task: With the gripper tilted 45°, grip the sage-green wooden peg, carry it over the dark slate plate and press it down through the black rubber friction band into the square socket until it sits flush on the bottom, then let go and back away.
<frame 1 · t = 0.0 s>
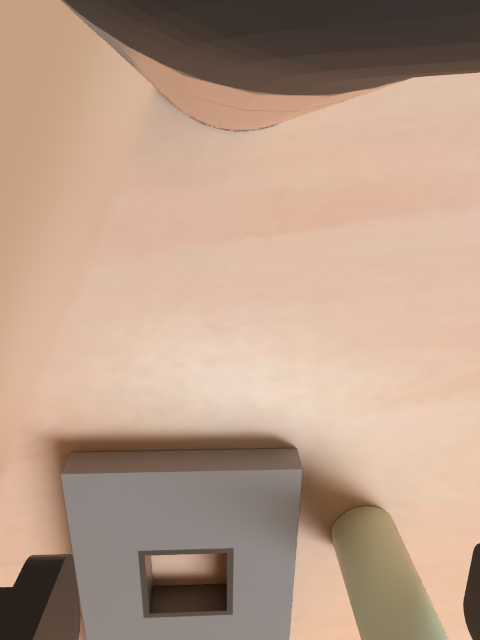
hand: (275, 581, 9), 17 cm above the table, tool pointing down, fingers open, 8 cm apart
socket plate: (188, 558, 32), on the table
peg: (362, 531, 32), on the table
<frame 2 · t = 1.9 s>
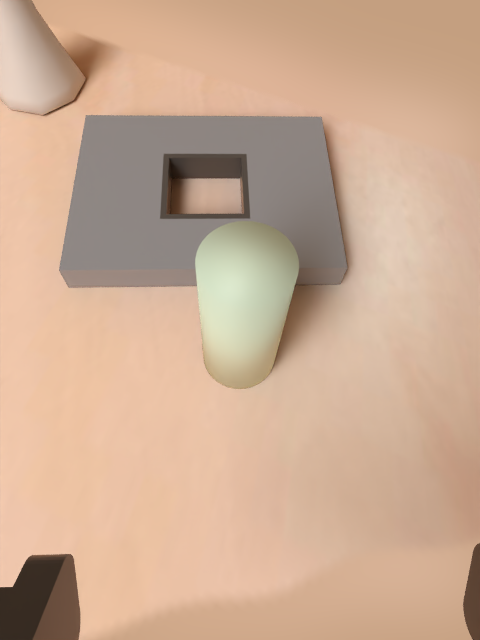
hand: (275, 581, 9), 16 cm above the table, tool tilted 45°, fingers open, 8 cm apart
socket plate: (206, 204, 34), on the table
peg: (239, 354, 28), on the table
flask: (41, 89, 39), on the table
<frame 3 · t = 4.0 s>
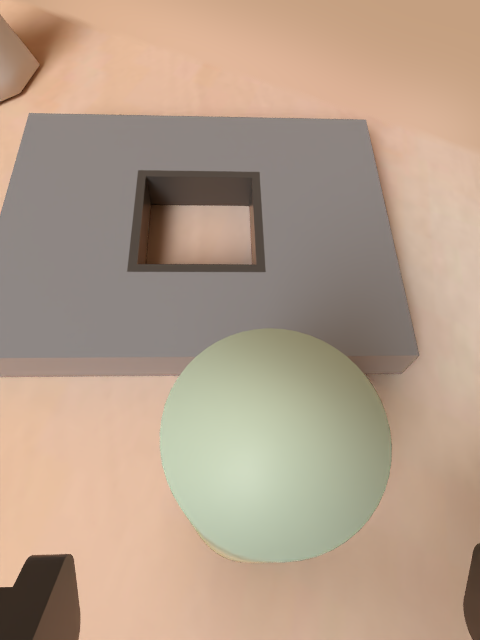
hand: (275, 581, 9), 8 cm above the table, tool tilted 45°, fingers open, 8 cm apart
socket plate: (199, 244, 23), on the table
peg: (246, 497, 18), on the table
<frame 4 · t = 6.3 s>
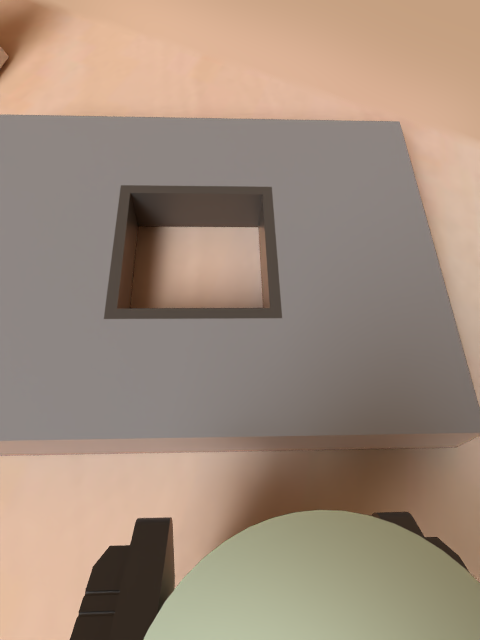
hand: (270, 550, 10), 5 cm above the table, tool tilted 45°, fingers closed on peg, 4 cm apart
socket plate: (197, 276, 19), on the table
peg: (259, 628, 13), on the table, touching gripper
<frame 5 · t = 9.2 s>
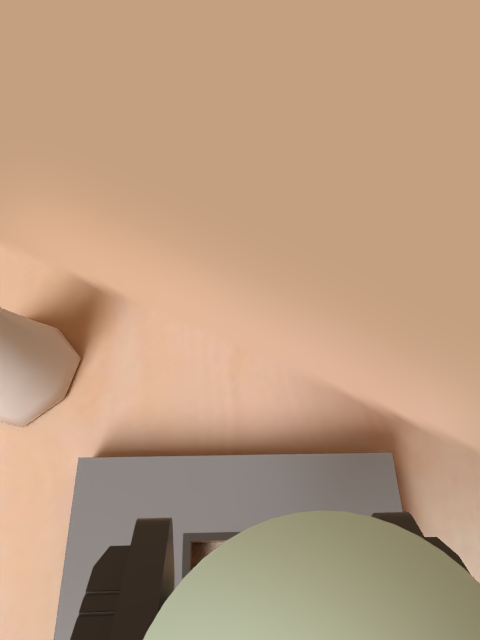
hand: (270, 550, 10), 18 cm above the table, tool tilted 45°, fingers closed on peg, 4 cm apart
socket plate: (239, 594, 25), on the table
peg: (259, 628, 13), point 13 cm above the table, touching gripper
flask: (23, 373, 30), on the table
when the fingers open (5 cm above the table, at t = 12.5 s): peg stays where it is, resting in socket plate.
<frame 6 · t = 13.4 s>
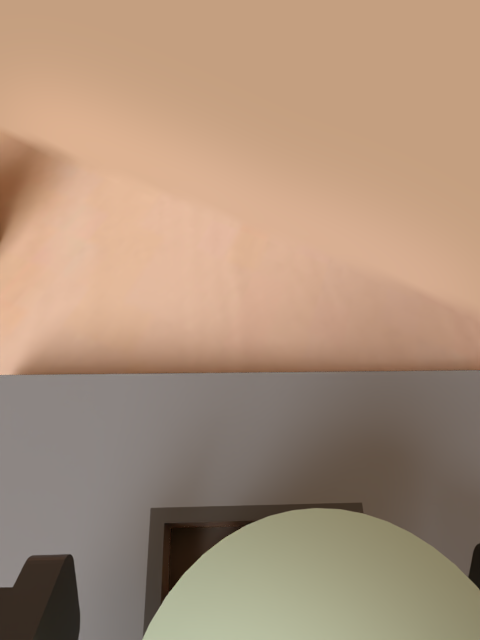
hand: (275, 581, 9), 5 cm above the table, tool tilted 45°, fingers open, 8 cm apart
socket plate: (256, 623, 13), on the table
peg: (258, 625, 13), resting in socket plate
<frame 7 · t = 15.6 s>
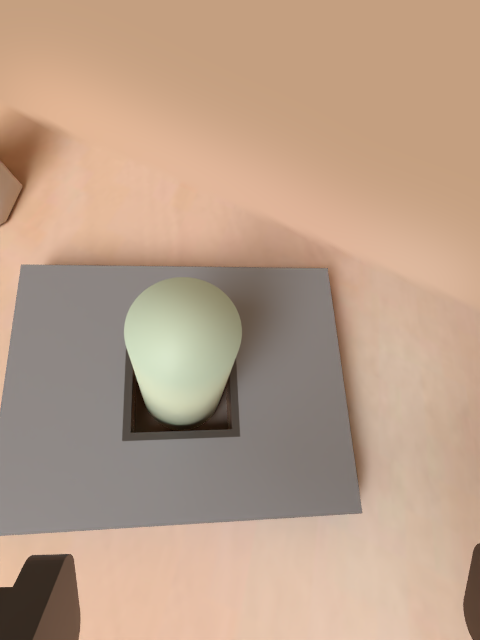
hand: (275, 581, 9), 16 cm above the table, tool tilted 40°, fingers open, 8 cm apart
socket plate: (181, 390, 26), on the table
peg: (182, 391, 26), resting in socket plate
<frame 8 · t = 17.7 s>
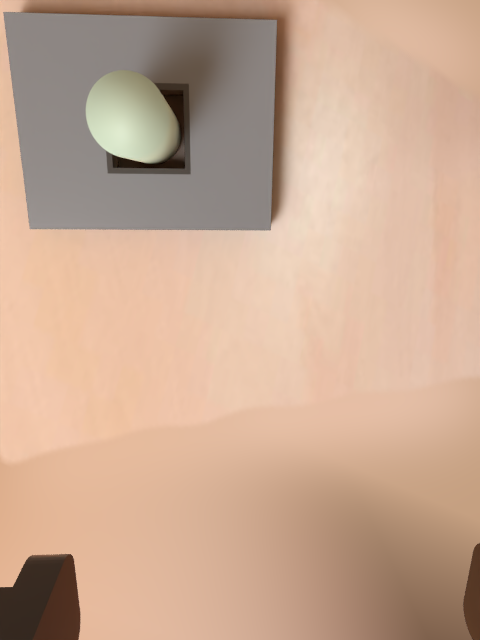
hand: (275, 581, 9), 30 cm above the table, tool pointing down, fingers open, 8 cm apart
socket plate: (151, 132, 34), on the table
peg: (151, 133, 34), resting in socket plate
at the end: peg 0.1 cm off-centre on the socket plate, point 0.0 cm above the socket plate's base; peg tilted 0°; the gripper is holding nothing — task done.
